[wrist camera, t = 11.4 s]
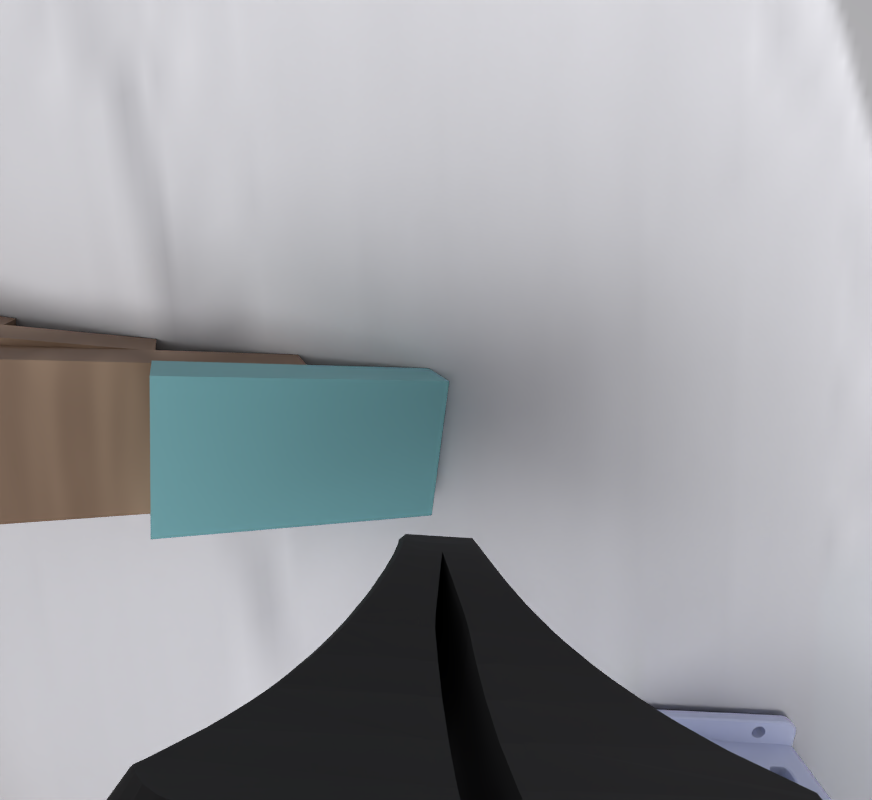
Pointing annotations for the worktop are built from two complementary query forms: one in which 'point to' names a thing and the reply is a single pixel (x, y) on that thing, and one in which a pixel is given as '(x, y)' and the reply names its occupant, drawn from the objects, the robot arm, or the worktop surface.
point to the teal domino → (290, 445)
